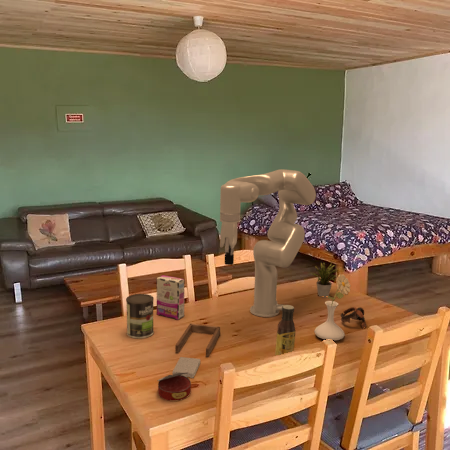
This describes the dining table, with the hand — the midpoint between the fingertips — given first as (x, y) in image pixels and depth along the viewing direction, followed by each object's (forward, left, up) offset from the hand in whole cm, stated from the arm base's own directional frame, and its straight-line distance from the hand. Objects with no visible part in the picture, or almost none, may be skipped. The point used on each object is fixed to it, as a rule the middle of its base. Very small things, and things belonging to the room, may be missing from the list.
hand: (229, 264), depth 183 cm
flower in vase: (-40, -4, -27) cm, 49 cm away
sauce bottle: (-24, +20, -27) cm, 41 cm away
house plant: (-37, -48, -27) cm, 66 cm away
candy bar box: (+26, -8, -27) cm, 38 cm away
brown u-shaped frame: (+8, +14, -27) cm, 32 cm away
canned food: (+7, +47, -27) cm, 55 cm away
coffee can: (+32, +11, -27) cm, 44 cm away
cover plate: (+7, +33, -28) cm, 44 cm away
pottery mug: (-50, -18, -27) cm, 60 cm away
